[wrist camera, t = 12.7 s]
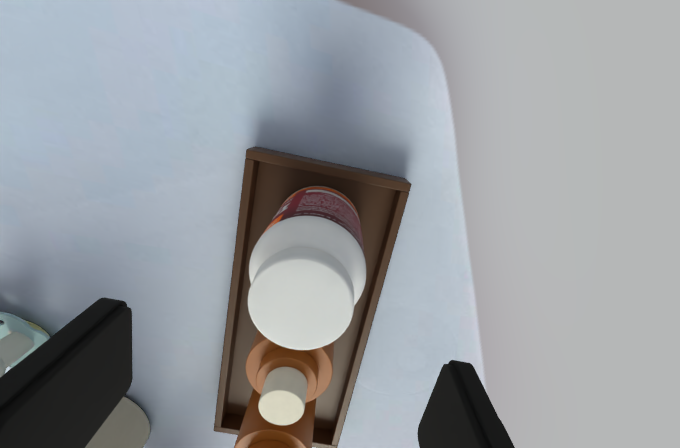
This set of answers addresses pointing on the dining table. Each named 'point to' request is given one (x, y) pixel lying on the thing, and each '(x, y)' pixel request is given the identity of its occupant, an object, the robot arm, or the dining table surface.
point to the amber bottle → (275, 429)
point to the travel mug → (123, 428)
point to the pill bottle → (308, 270)
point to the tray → (378, 241)
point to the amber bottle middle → (287, 378)
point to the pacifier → (18, 340)
